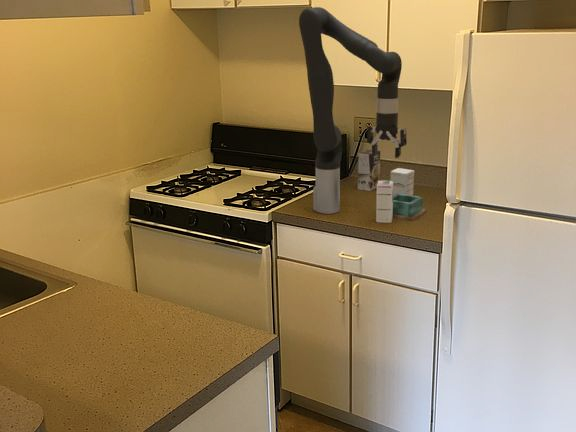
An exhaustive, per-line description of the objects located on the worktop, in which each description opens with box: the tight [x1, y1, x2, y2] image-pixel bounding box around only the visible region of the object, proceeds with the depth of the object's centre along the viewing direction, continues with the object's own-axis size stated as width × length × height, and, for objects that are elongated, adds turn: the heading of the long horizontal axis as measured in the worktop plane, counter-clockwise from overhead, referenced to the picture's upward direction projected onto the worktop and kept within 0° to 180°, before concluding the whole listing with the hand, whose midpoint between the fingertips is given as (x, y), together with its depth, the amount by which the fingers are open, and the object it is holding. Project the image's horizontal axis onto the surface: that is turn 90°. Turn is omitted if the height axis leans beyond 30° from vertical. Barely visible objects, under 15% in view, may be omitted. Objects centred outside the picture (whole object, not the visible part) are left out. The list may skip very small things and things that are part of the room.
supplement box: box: [389, 167, 415, 196], centre depth 258 cm, size 7×7×13 cm
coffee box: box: [357, 149, 381, 192], centre depth 276 cm, size 9×6×16 cm
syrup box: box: [375, 179, 394, 224], centre depth 233 cm, size 6×6×14 cm
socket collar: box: [392, 193, 427, 222], centre depth 242 cm, size 13×13×6 cm
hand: (386, 156), depth 228 cm, fingers open, 8 cm apart
